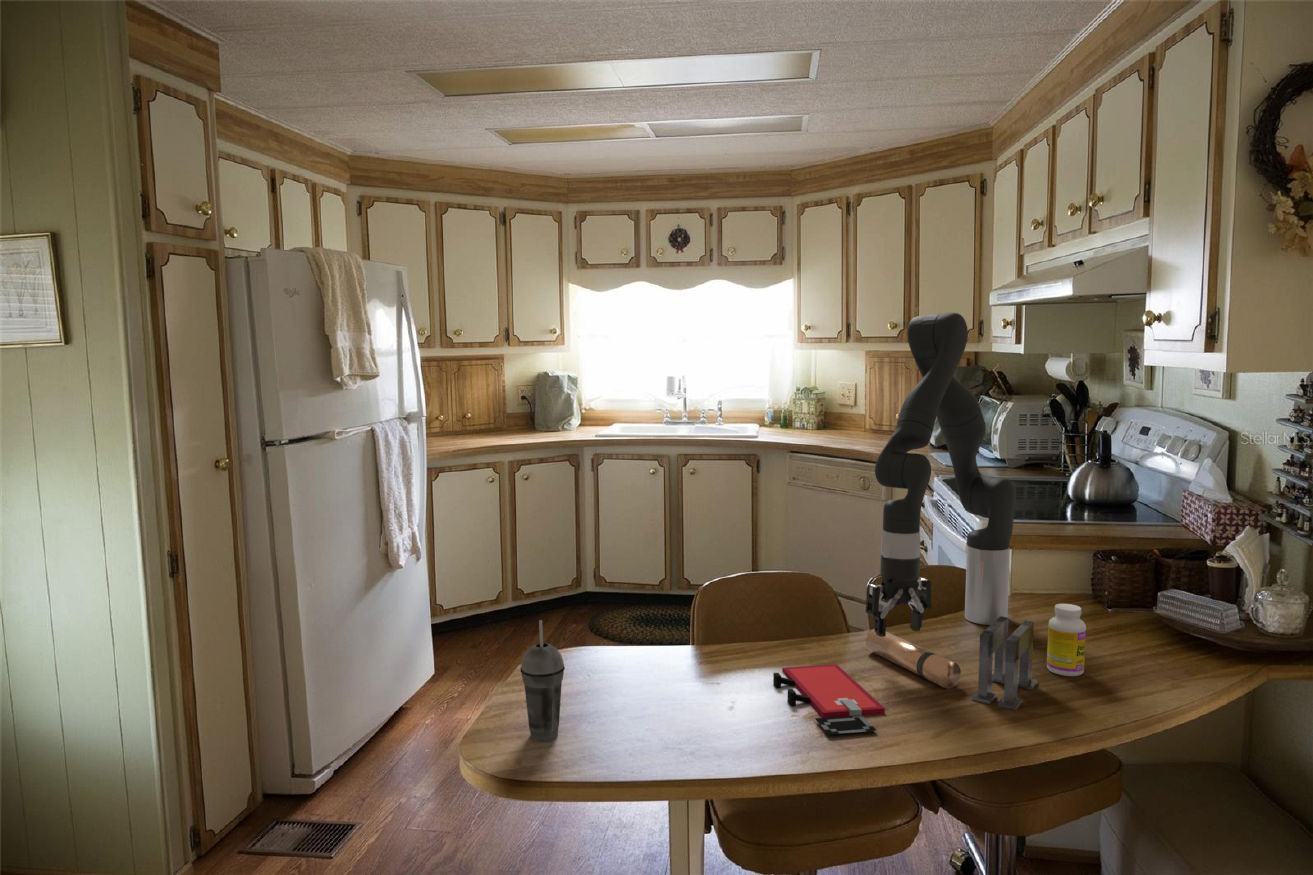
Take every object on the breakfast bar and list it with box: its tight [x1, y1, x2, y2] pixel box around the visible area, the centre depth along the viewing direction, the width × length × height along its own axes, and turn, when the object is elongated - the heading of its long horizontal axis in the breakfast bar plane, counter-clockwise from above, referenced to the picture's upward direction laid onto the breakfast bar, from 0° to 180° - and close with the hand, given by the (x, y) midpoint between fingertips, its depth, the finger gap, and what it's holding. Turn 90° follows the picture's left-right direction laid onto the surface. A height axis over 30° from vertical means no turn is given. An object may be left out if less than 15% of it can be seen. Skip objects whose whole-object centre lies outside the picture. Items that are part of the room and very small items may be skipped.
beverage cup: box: [520, 619, 566, 743], centre depth 149 cm, size 7×7×20 cm
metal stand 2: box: [996, 620, 1038, 711], centre depth 164 cm, size 15×3×12 cm, turn 144°
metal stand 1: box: [971, 616, 1009, 705], centre depth 167 cm, size 15×3×12 cm, turn 144°
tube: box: [865, 628, 962, 690], centre depth 177 cm, size 22×5×5 cm, turn 24°
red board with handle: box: [772, 663, 886, 735], centre depth 163 cm, size 30×3×15 cm
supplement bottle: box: [1046, 603, 1087, 677], centre depth 175 cm, size 7×7×13 cm
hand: (897, 632), depth 180 cm, fingers open, 8 cm apart
